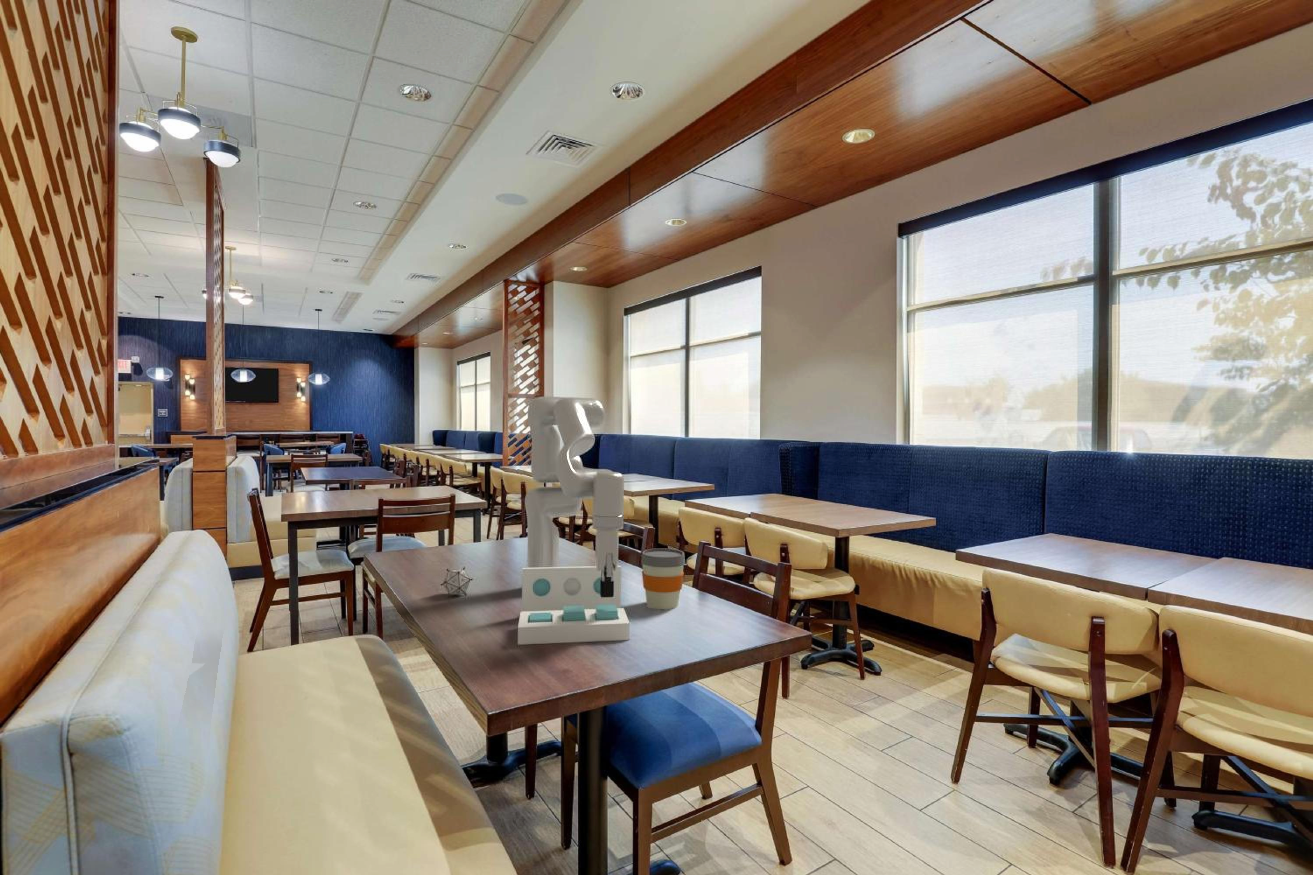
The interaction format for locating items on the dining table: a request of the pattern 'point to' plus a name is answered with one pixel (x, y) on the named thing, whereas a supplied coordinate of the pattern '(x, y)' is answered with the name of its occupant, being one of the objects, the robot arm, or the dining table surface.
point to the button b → (573, 613)
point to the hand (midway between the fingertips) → (606, 596)
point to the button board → (572, 628)
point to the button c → (606, 612)
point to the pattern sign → (566, 588)
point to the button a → (540, 617)
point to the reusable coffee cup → (662, 577)
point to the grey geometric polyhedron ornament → (456, 582)
